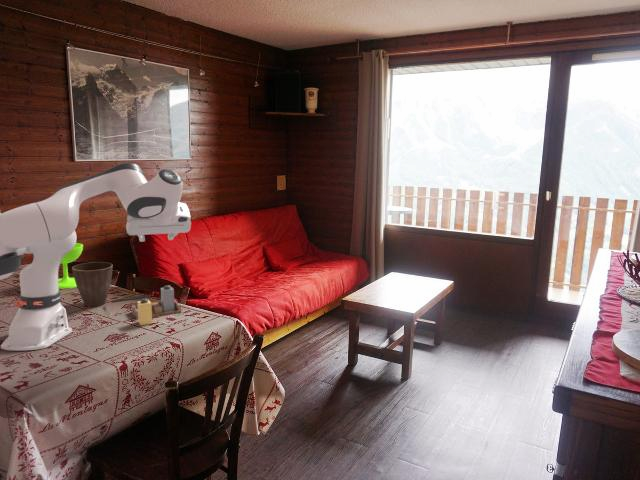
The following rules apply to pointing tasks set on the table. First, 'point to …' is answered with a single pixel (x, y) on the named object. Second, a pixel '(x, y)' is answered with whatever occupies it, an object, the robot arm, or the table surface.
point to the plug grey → (167, 298)
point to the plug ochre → (144, 312)
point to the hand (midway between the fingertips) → (156, 239)
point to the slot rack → (158, 309)
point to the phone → (131, 298)
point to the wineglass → (68, 258)
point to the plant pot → (93, 281)
